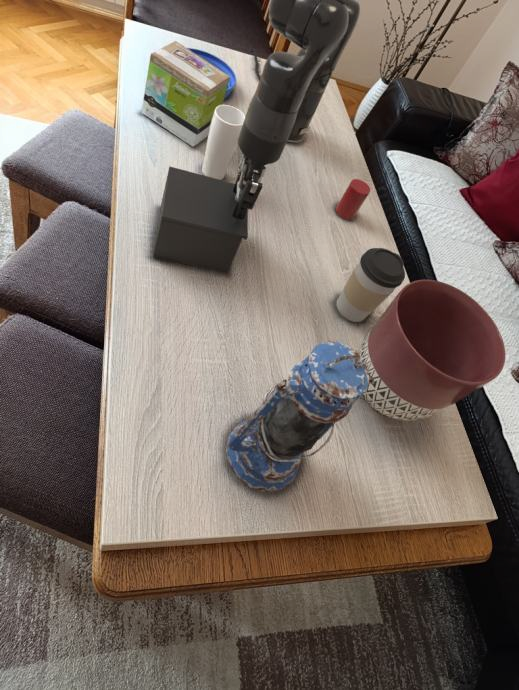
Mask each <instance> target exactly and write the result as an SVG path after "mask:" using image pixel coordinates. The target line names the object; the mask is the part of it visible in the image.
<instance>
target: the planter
mask: <svg viewBox="0 0 519 690" xmlns="http://www.w3.org/2000/svg"><path fill="white" fill-rule="evenodd" d="M357 353H358V354H359V355H360V357H361V358H362V359H363V360H364V361H365V364H366V366H367V369H368V371H369V376H372V377H373V379H374V384H370V383H369V385H368V386H367V388H366V390H365V392H364V393H363V394H362V395H361V396H362V397H363V399H364V400H365V401H366V402H367V404H368V405H370V407H371V408H372V409H374V410H375V411H377V412H378V413H380V414H382V415H383V416H385V417H388V418H390V419H393V420H398V421H404V422H405V421H406V422H409V421H419V420H423V419H426V418H429V417H432V416H434V415H437V414H438V413H441V412H442V411H444V410H446V409H447V408H449V407H451V406H452V405H454V404H456V403H457V402H459V401H460V400H462V399H464V398H465V397H467V396H469V395H471V394H472V393H474V392H476V391H478V390H479V389H481V388H483V387H484V386H486V385H488V384H489V383H490V382H492V381H493V380H495V379H497V377H498V376H499V375H500V374H501V373H502V371H503V369H504V367H505V363H506V346H505V342H504V339H503V336H502V334H501V332H500V329H499V328H498V326H497V324H496V322H495V321H494V320H493V318H492V317H491V316H490V315H489V313H488V312H487V311H486V309H484V307H483V306H482V305H481V304H479V303H478V302H477V301H476V299H474V298H472V296H470V295H469V294H467V292H464V291H462V290H461V289H459V288H458V287H455V286H453V285H451V284H449V283H446V282H443V281H439V280H434V279H419V280H414V281H411V282H409V283H407V284H406V285H404V286H403V287H402V288H401V289H400V291H399V292H398V293H397V295H396V296H394V298H393V299H392V300H391V302H390V304H388V306H387V308H386V309H385V310H384V312H383V313H382V314H381V316H380V317H379V318H378V319H377V320H376V322H375V323H374V324H373V326H372V327H371V329H370V330H369V332H368V333H367V334H366V336H365V337H364V338H363V340H362V342H361V343H360V346H359V348H358V351H357Z"/></svg>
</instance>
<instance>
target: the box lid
mask: <svg viewBox="0 0 519 690" xmlns="http://www.w3.org/2000/svg"><path fill="white" fill-rule="evenodd" d="M168 170H169V171H167V175H168V178H167V177H166V180H167V184H166V183H165V184H166V191H165V198H164V205H163V212H162V220H166V221H170V222H175V223H179V224H183V225H187V226H192V227H196V228H200V229H204V230H208V231H213V232H217V233H221V234H225V235H229V236H234V237H238V238H242V240H247V239H248V237H249V209H248V210H247V212H246V215H245V217H244V219H238V218H234V217H233V216H232V215H233V210H234V207H235V205H236V202H237V197H238V195H239V191H240V188H239V186H238V184H239V181H238V182H237V194H236V193H234V192H233V188H234V185H235V182H229V181H226V180H223V179H222V180H219V179H215V178H211V177H208V176H204V174H201V173H196V172H193V171H190V170H189V171H188V170H185V169H181V168H177V167H174V166H170V165H169V166H168ZM243 184H246V181H243Z"/></svg>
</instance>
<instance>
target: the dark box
mask: <svg viewBox="0 0 519 690" xmlns="http://www.w3.org/2000/svg"><path fill="white" fill-rule="evenodd" d="M168 171H169V169H168ZM168 171H167V172H168ZM167 178H168V174H167V175H166V180H165V183H164V189H163V194H162V198H161V203H160V206H159V207H160V208H159V212H158V213H159V214H158V221H157V228H156V234H155V240H154V246H153V247H154V248H153V253H152V257H153V258H154V259H158V260H163V261H169V262H173V263H177V264H180V265H181V264H182V265H186V266H191V267H196V268H199V269H200V268H201V269H205V270H209V271H215V272H219V273H222V274H223V273H224V274H229V272H230V270H231V267H232V264H233V262H234V259H235V257H236V254H237V253H238V250H239V247H240V246H241V243H242V240H243V239H242V238H238V237H234V236H229V235H225V234H221V233H217V232H213V231H208V230H204V229H200V228H196V227H192V226H187V225H183V224H179V223H175V222H170V221H166V220H162V212H163V205H164V198H165V191H166V184H167Z"/></svg>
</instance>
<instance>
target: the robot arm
mask: <svg viewBox="0 0 519 690" xmlns="http://www.w3.org/2000/svg"><path fill="white" fill-rule="evenodd" d="M360 15H361V5H360V3H359V2H358V1H357V0H270V1H269V6H268V20H269V24H270V26H271V27H272V29H273V30H274V31H275V32H276V33H278V34H279V35H281V36H282V37H284V38H285V39H286V40H289V41H290V42H291V43H293V44H294V45H296V46H297V47H298V48H300V49H299V51H298V52H297V54H293V53H290V52H287V51H274V52H273V53H271V54H270V55H268V57H267V58H266V60H265V63H264V64H263V68H262V71H261V74H260V73H259V61H258V55H257V50H256V49H255V48H252V49H250V52H252V53H253V56H254V62H255V67H254V70H255V74H256V77H257V78H258V79H259V80H258V83H257V86H256V89H255V92H254V93H253V96H252V98H251V100H250V103H249V105H248V107H247V111H246V114H245V120H244V123H243V126H242V129H241V132H240V135H239V138H238V146H237V147H238V148H239V151H240V152H241V155H240V158H239V160H238V169H237V177H236V179H235V182H234V184H235V185H234V188H233V192H234V193H236V194H237V182H238V181H239V184H238V186H239V188H240V191H239V195H238V197H237V202H236V205H235V207H234V210H233V215H232V216H233V217H234V218H238V219H244V217H245V215H246V212H247V210H248V211H249V210H253V209H254V206H255V204H256V202H257V200H258V198H259V196H260V193H261V191H262V190H263V187H264V186H263V185H264V184H263V183H262V178H264V177H265V175H266V170H267V167H266V166H267V165H271V164H274V163H277V162H278V161H279V160H280V158H281V156H282V154H283V151H284V149H285V147H286V144H287V143H289V144H299V143H301V142H303V141H304V139H305V136H306V133H309V131H310V128H311V126H310V124H311V122H312V120H313V118H314V116H315V113H316V111H317V109H318V107H319V104H320V102H321V100H322V98H323V96H324V93H325V91H326V88H327V86H328V84H329V82H330V80H331V77H332V76H333V73H334V71H335V69H336V67H337V65H338V63H339V60H340V58H341V56H342V54H343V52H344V50H345V49H346V47H347V45H348V42H349V41H350V39H351V37H352V35H353V33H354V31H355V29H356V27H357V23H358V21H359V18H360ZM243 181H246V184H243Z"/></svg>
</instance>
